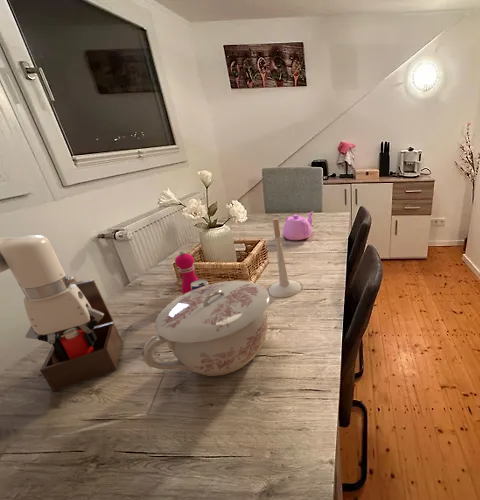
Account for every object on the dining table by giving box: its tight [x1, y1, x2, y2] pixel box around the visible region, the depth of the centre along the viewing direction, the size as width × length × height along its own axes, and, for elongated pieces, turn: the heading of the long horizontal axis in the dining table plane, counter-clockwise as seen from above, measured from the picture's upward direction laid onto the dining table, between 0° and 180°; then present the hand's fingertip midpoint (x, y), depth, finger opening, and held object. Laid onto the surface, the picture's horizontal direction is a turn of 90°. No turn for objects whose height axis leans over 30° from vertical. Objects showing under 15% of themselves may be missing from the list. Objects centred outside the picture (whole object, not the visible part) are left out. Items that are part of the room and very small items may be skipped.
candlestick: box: [268, 217, 302, 299], centre depth 107 cm, size 13×13×30 cm
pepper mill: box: [174, 249, 200, 295], centre depth 105 cm, size 7×7×20 cm
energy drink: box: [191, 278, 210, 290], centre depth 98 cm, size 5×5×12 cm
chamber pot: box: [141, 279, 271, 377], centre depth 76 cm, size 28×28×21 cm
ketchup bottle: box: [60, 328, 95, 359], centre depth 74 cm, size 5×5×12 cm
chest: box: [39, 321, 122, 392], centre depth 76 cm, size 14×13×8 cm
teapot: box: [282, 210, 315, 241], centre depth 168 cm, size 22×22×14 cm
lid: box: [58, 279, 114, 337], centre depth 78 cm, size 14×13×5 cm
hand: (78, 347), depth 73 cm, fingers closed on ketchup bottle, 4 cm apart
